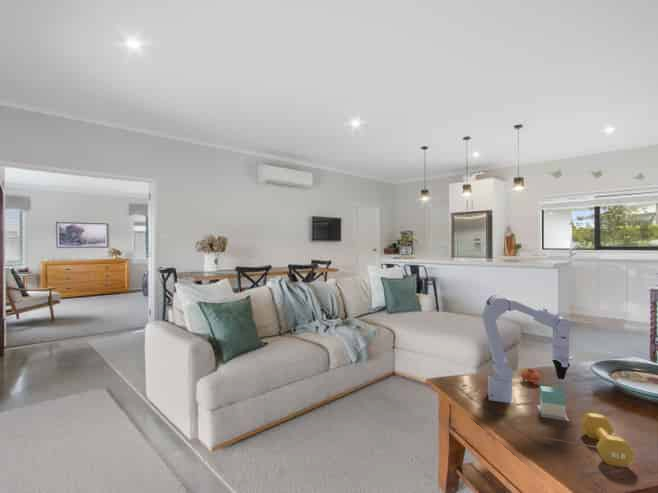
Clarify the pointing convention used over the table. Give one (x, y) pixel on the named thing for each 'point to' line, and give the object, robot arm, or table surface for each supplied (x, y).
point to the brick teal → (552, 395)
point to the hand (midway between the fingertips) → (560, 378)
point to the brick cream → (552, 409)
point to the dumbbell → (607, 440)
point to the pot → (530, 376)
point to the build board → (552, 415)
